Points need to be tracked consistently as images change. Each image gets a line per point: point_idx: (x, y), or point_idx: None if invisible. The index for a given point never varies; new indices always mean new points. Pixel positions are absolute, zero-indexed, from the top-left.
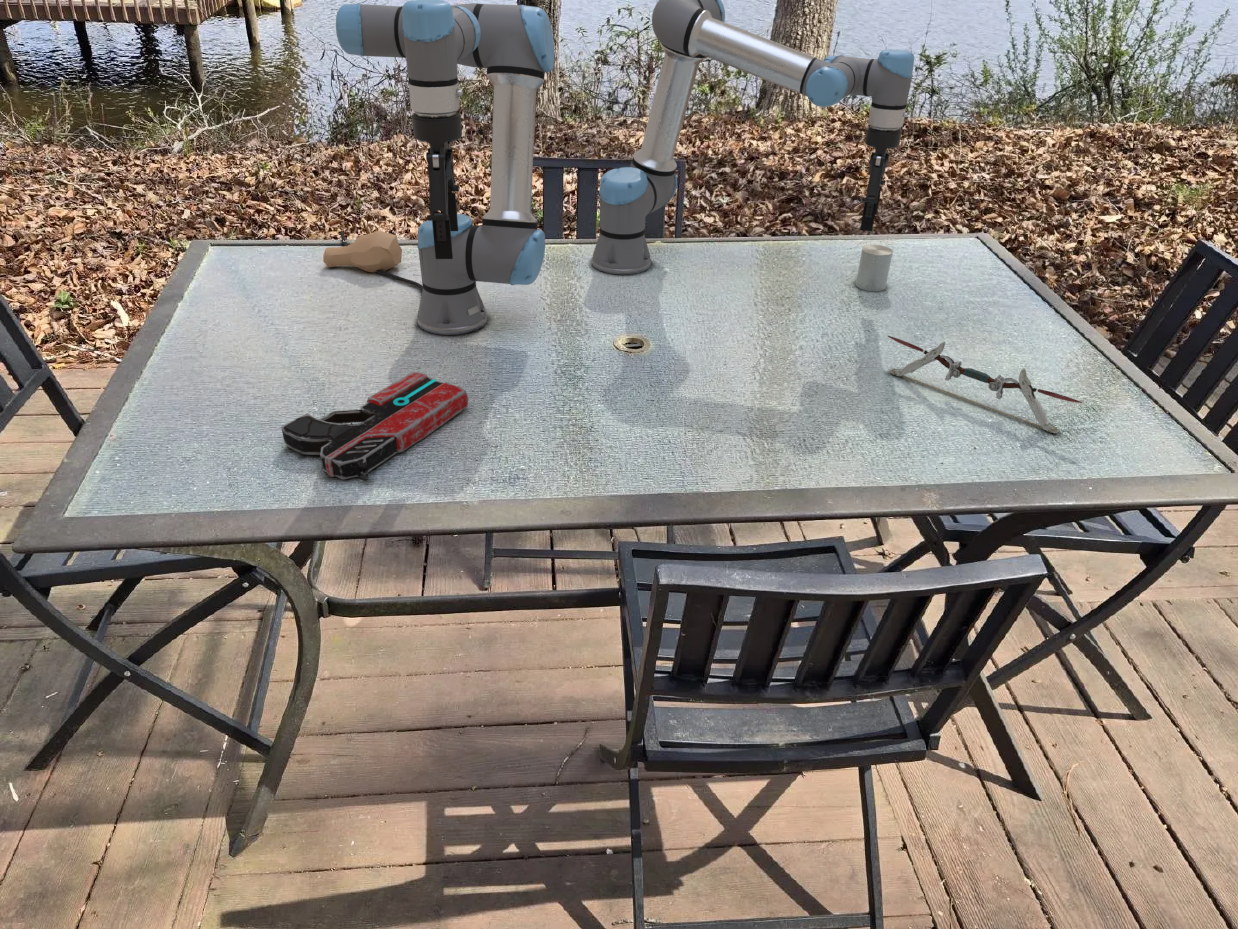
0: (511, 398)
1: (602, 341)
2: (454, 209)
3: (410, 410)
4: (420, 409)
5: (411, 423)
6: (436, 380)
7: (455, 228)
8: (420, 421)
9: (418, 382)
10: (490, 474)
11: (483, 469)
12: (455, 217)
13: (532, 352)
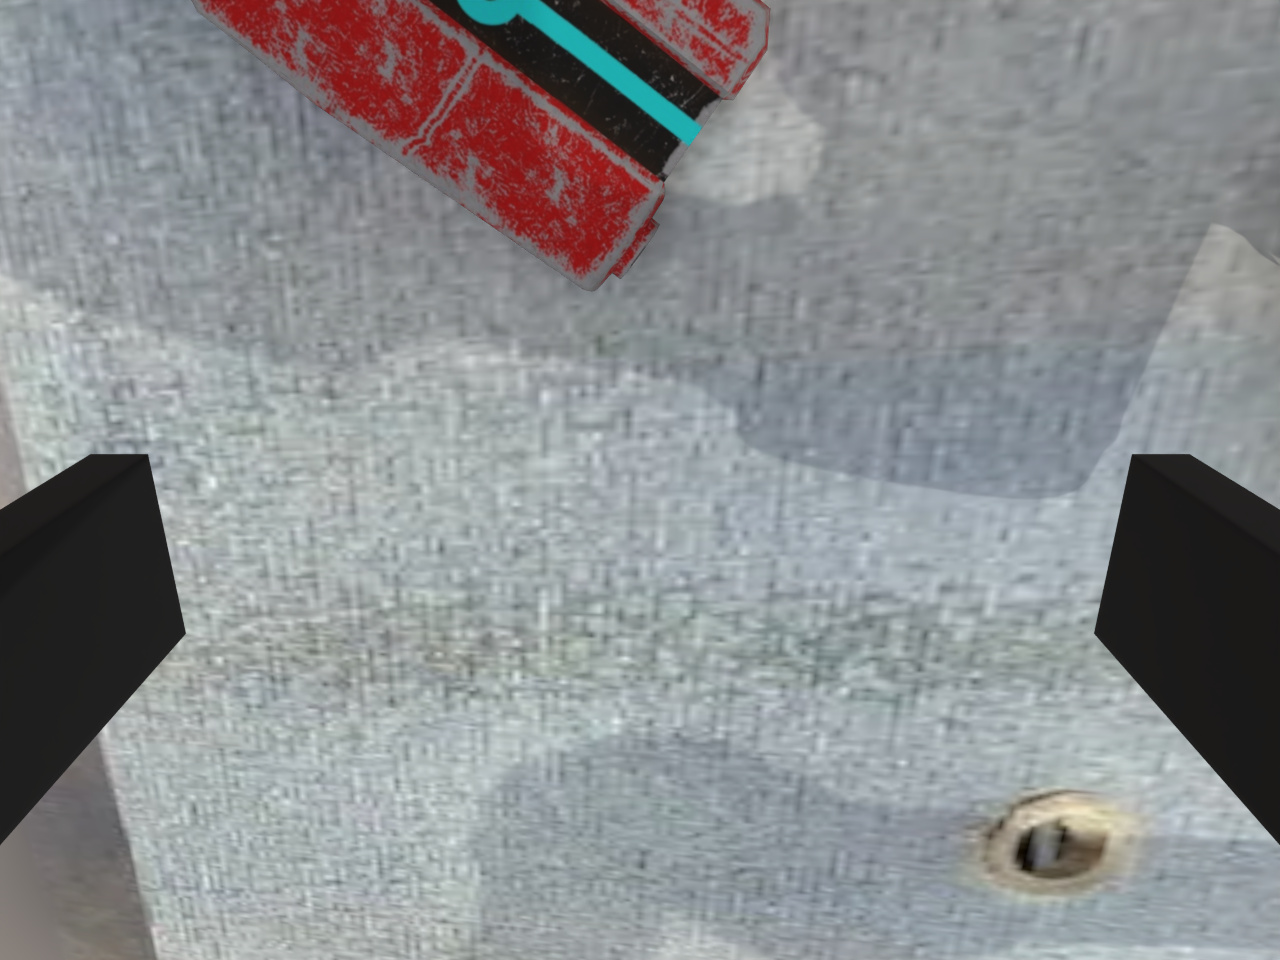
0: (682, 440)
1: (1101, 759)
2: (1271, 806)
3: (389, 44)
4: (401, 93)
5: (285, 61)
6: (687, 144)
7: (1116, 625)
8: (313, 102)
9: (667, 53)
10: (149, 379)
11: (176, 354)
12: (1193, 724)
13: (1063, 516)
